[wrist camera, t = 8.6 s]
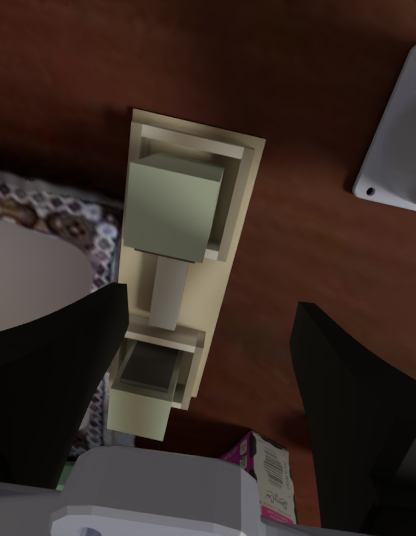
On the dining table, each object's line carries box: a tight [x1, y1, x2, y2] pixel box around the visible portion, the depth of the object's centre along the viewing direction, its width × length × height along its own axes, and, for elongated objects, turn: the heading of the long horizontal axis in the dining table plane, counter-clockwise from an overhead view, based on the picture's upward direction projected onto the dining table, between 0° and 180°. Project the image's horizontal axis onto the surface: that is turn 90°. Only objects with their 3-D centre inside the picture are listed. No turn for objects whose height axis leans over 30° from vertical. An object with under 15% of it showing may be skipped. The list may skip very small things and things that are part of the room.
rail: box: [107, 109, 266, 441], centre depth 20 cm, size 8×22×6 cm, turn 168°
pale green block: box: [123, 152, 225, 264], centre depth 17 cm, size 4×4×6 cm
